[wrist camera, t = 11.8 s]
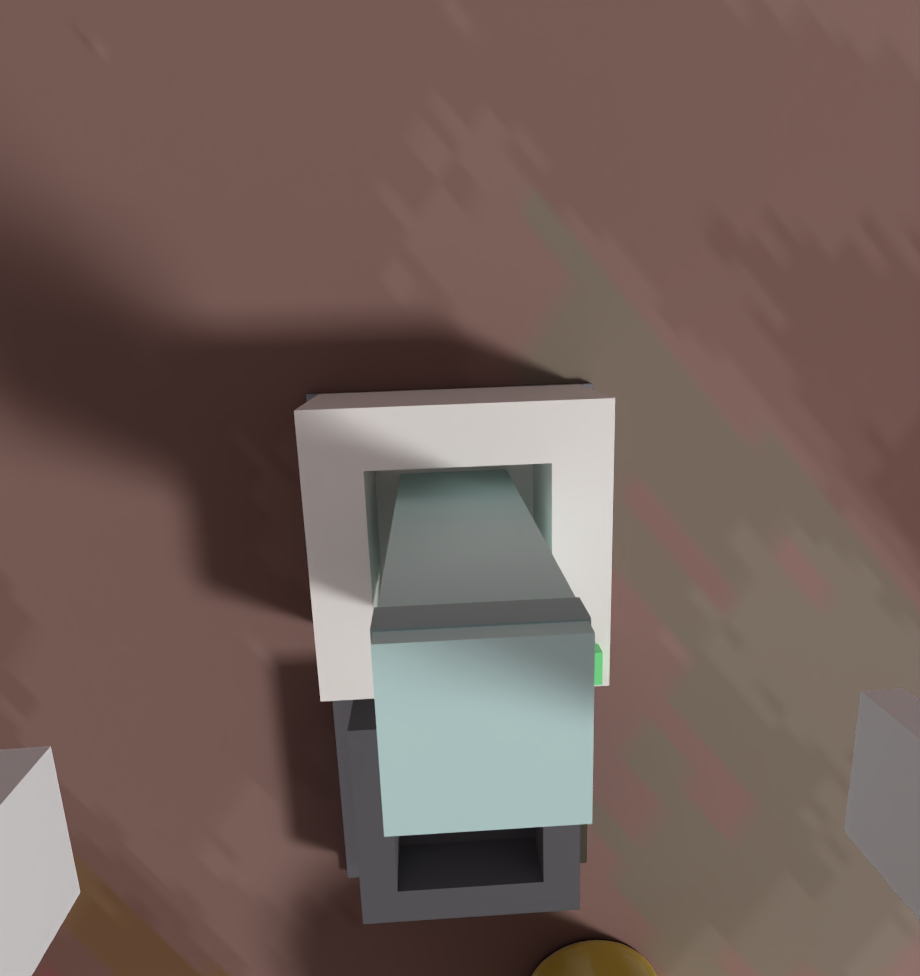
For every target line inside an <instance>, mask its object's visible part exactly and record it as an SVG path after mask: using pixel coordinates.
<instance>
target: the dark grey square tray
mask: <svg viewBox="0 0 920 976" xmlns="http://www.w3.org/2000/svg"><path fill="white" fill-rule="evenodd" d="M347 735H348V748H349V760H350V772H351V784H352V796H353V808H354V820H355V833H356V845H357V857H358V869H359V881H360V893H361V905H362V918H363V924H374V923H389V922H404V921H419V920H433V919H448V918H463V917H477V916H492V915H507V914H521V913H536V912H551V911H565V910H579V902H580V825H564V826H548V827H532V828H516V829H501V830H485V831H469V832H453V833H437V834H421V835H406V836H390V837H384V828H383V814H382V800H381V786H380V771H379V757H378V743H377V729H376V715H375V701H374V699H357V700H353V704H352V709H351V714H350V719H349V724H348V729H347Z"/></svg>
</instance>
